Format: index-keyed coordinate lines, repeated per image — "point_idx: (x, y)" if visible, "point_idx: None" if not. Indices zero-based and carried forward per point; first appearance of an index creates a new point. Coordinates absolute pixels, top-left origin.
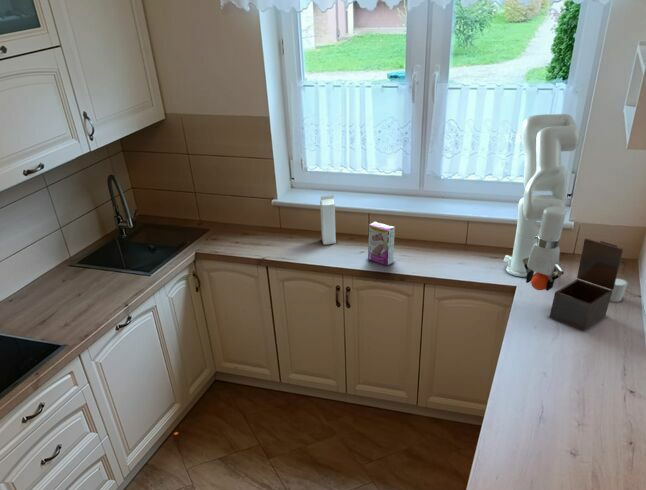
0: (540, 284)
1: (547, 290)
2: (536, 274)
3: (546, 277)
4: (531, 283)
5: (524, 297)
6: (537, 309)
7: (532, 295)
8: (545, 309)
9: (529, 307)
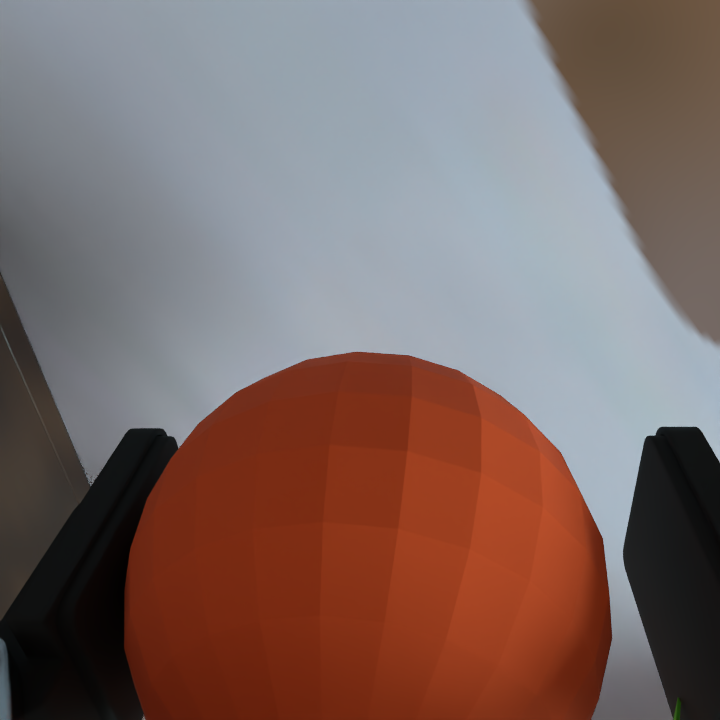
0: (208, 440)
1: (138, 436)
2: (477, 710)
3: (150, 717)
4: (512, 409)
5: (589, 292)
6: (210, 116)
7: (530, 405)
8: (145, 208)
9: (337, 72)
